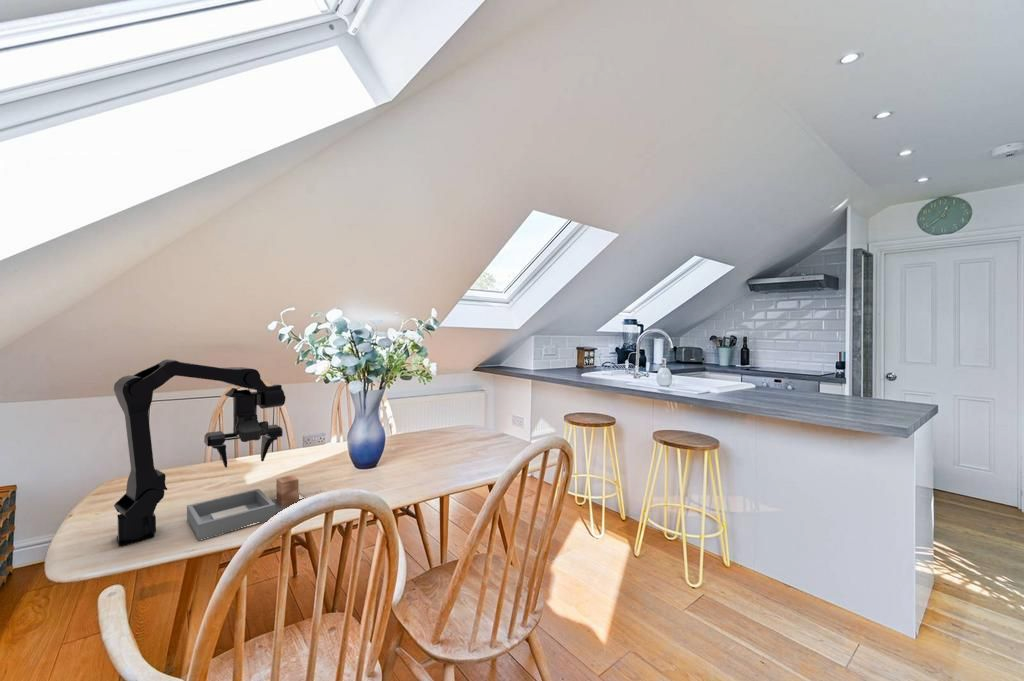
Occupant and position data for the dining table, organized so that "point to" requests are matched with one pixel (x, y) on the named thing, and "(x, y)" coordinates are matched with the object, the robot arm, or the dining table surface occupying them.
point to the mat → (278, 507)
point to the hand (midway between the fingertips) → (244, 464)
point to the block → (287, 490)
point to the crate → (229, 513)
